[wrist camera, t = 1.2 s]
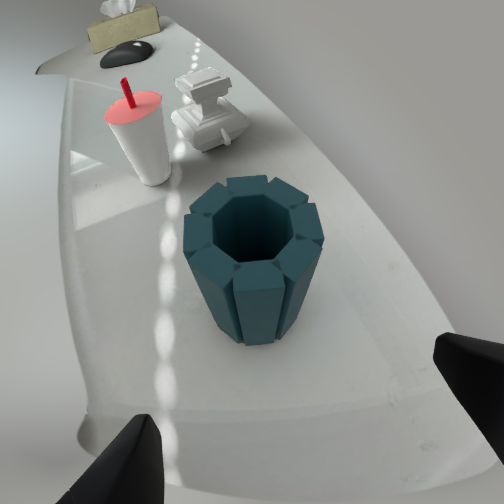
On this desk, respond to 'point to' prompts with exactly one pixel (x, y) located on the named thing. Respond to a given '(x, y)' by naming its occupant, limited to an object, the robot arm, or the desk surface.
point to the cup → (141, 133)
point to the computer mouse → (126, 54)
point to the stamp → (208, 110)
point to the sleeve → (253, 254)
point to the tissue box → (122, 24)
